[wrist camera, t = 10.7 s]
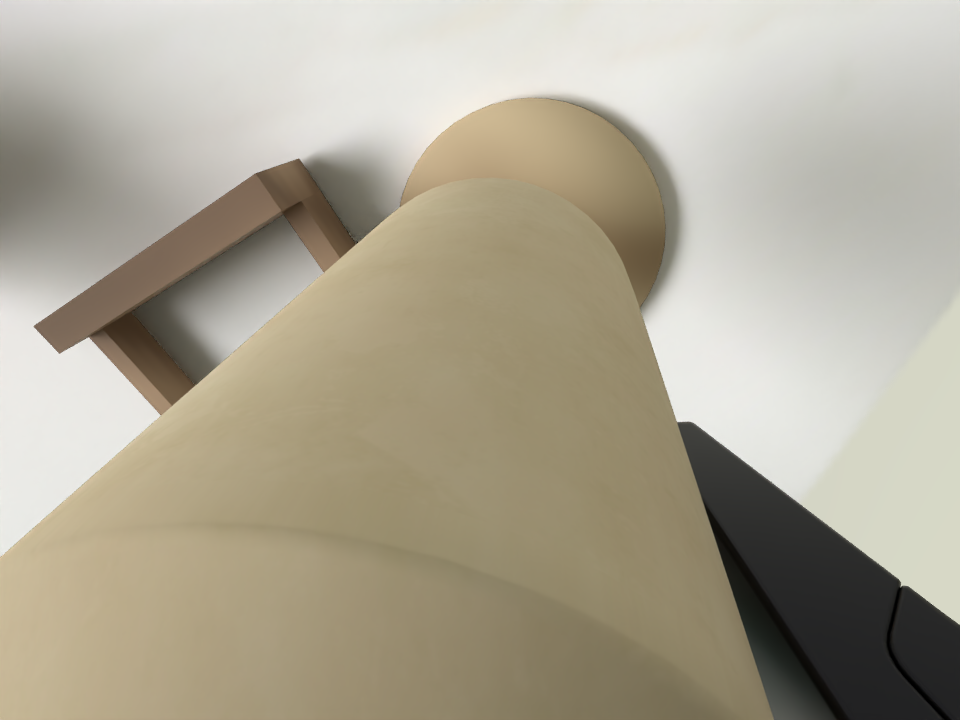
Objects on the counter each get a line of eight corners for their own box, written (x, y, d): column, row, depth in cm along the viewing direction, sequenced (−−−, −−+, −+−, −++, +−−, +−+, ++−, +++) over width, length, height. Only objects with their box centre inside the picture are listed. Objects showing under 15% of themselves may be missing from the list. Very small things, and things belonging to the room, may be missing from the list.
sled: (604, 621, 27) (612, 723, 23) (423, 665, 31) (402, 760, 26) (299, 158, 18) (221, 185, 14) (96, 295, 22) (-14, 349, 18)
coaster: (664, 345, 20) (667, 351, 20) (430, 366, 22) (427, 372, 21) (660, 72, 16) (662, 72, 16) (372, 125, 18) (367, 126, 17)
